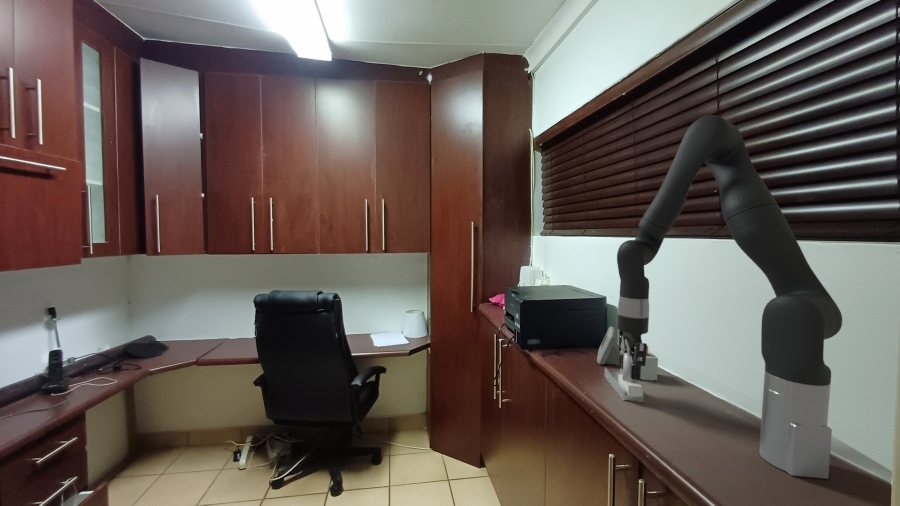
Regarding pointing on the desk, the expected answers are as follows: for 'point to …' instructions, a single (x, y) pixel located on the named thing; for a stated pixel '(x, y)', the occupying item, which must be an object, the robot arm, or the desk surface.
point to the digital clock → (609, 349)
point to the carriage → (629, 379)
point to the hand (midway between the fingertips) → (630, 373)
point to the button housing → (649, 368)
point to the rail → (613, 379)
